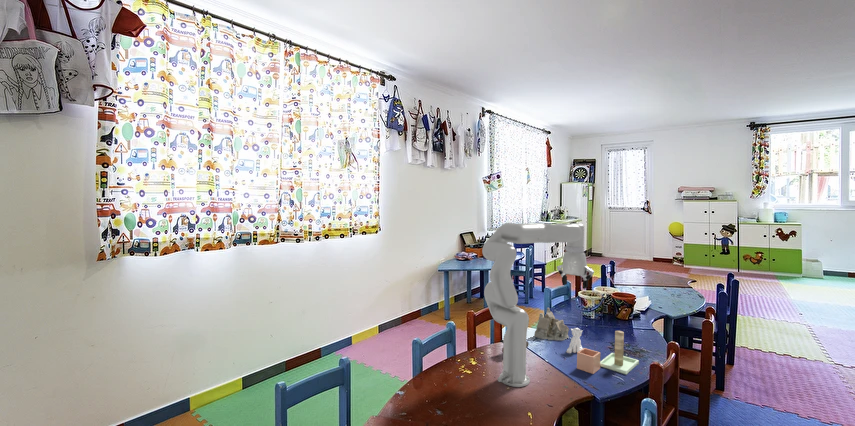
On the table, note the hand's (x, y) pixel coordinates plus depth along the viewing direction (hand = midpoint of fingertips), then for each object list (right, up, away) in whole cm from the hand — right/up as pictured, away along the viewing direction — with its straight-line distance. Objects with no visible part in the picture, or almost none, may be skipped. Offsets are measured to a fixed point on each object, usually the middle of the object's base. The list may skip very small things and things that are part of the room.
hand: (574, 286), depth 177 cm
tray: (+20, -36, -1) cm, 41 cm away
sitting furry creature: (+6, -36, +14) cm, 39 cm away
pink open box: (+4, -37, -5) cm, 37 cm away
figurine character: (-25, -36, +14) cm, 46 cm away
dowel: (+20, -36, -1) cm, 41 cm away
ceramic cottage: (+1, -35, +35) cm, 50 cm away
